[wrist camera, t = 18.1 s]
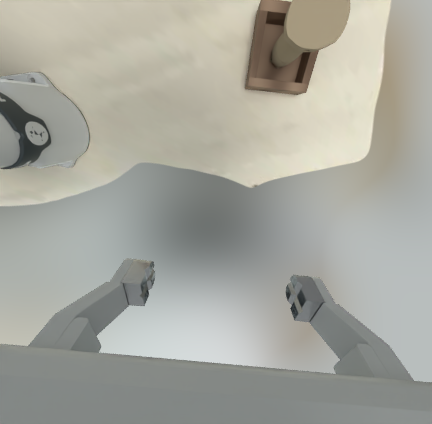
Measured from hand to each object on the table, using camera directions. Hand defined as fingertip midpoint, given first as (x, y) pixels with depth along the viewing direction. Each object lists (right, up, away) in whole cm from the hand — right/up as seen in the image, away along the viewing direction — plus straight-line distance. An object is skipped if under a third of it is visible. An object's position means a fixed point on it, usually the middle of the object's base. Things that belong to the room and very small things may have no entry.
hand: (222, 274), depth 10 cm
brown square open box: (+11, +32, +22) cm, 40 cm away
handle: (+11, +32, +21) cm, 40 cm away
